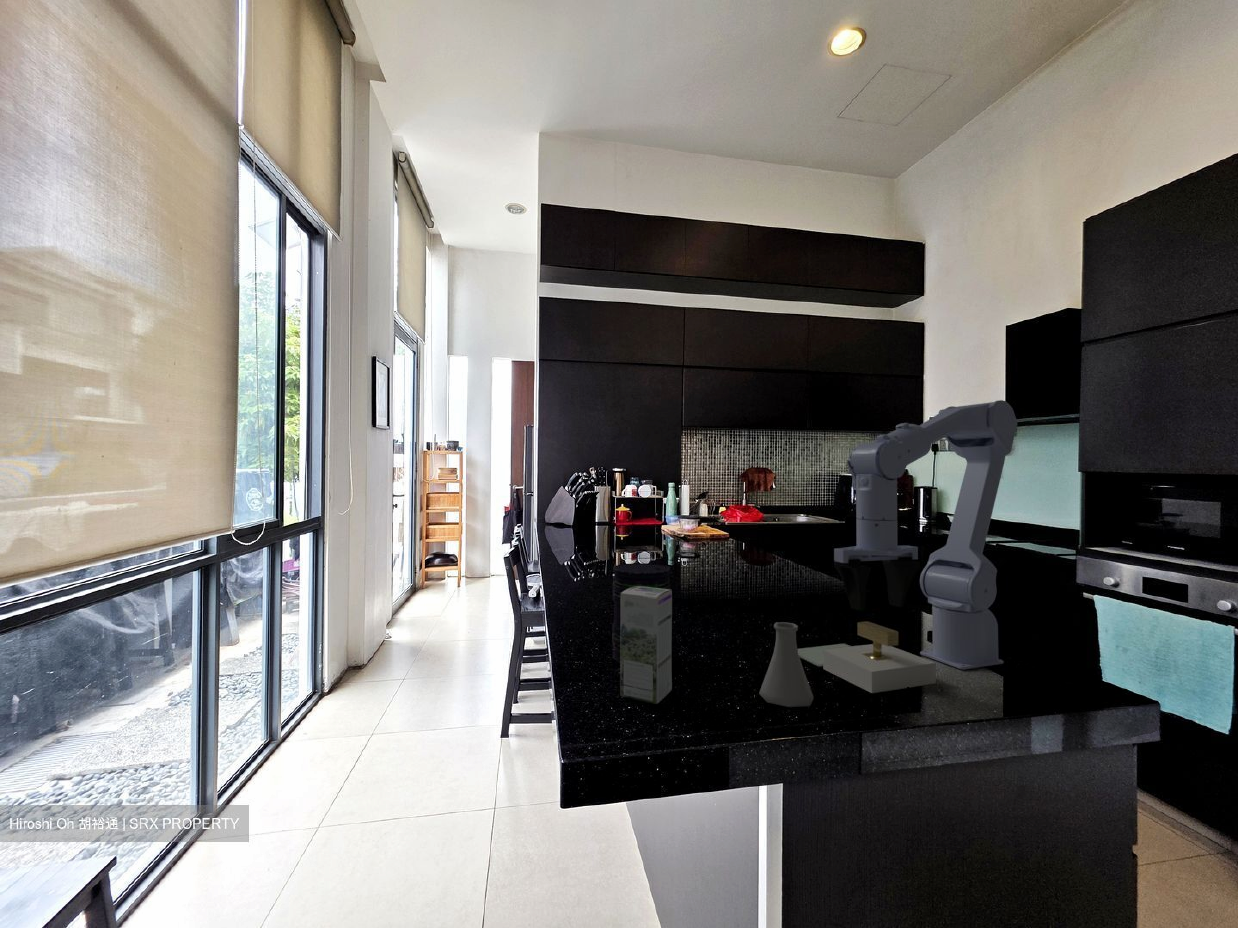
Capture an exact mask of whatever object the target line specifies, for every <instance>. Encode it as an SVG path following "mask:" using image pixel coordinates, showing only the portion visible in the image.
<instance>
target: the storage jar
mask: <svg viewBox="0 0 1238 928" xmlns="http://www.w3.org/2000/svg"><path fill="white" fill-rule="evenodd" d="M670 571H671V569H670V567H669V566H667V565H663V564H657V563H643V562H640V563H639V562H635V563H633V562H630V563H622V564H617V565H614V566H613V569H612V572H613V575H612V576H613V577H612V578H613V580H612V581H613V582H612V595H611V596H612V600H613V603H614V607H613V608H614V609H613V610H614V611H613V613H614V617H613V619H614V620H613V623H612V627H611V630H612V634H611V641H612V648H613V651H612V659H614V660H615V661H616V662H617V663H620V625H621V624H620V623H621V610H620V597H621V593H622V592H623V591H625V590H626V589H628V588H631V587H634V586H642V587H651V588H661V589H670V590H671V583H670V579H671V576H670V574H671V573H670Z"/></svg>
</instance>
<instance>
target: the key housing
mask: <svg viewBox="0 0 1238 928" xmlns="http://www.w3.org/2000/svg"><path fill="white" fill-rule="evenodd" d="M869 654H873V643H871V644H862V645H853V646H851V647H844V648H835V649H827V650H823V666H822V667H823V670H825V671H827V672H829V673H831V674H833V675H835V676H837V677H839V678H840V679H843V680H845V681H847V682H848V683H850V684H853V685H854V686H856V687H859V688H860V689H863V690H865V691H867V692H869V693H870V694H875V693H876V694H877V693H882V692H889V691H895V690H901V689H908V688H907V687H909V688H914V687H915V688H916V687H921V686H926V685H934V684H936V683H937V664H936V662H934V661H932V660H929V659H926V658H924V657H921V656H918V655H916V654H912V653H911V652H908V651H905V650H902V649H900V648H897V647H894V646H886V645H883V644H882V655H884V656H886V660H879V661H877V660H875V659H872V658H870V657H869Z"/></svg>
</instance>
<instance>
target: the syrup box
mask: <svg viewBox="0 0 1238 928" xmlns="http://www.w3.org/2000/svg"><path fill="white" fill-rule="evenodd" d="M672 592H673V590H672V589H671V588H670V589H661V588H651V587H642V586H634V587H631V588H628V589H626V590H625V591H623V592H622V593H621V597H620V610H621V623H620V624H621V625H620V662H619V664H620V666H619V667H620V673H619V674H620V676H619V677H620V679H619V680H620V681H619V682H620V685H619V689H620V691H619V695H620V697H624V698H628V699H631V700H637V701H641V702H645V703H650V704H655V705H658V704H659V703H660V702H661V701H662V700H663V699H664V698H665V697H667V696H668V694H670V693H671V691H672V689H673V682H672V681H673V679H672V633H673V632H672V629H673V628H672V627H673V626H672V624H673V621H672V620H673V619H672V618H673V593H672Z"/></svg>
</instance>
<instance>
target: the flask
mask: <svg viewBox="0 0 1238 928" xmlns="http://www.w3.org/2000/svg"><path fill="white" fill-rule="evenodd" d="M773 628H774V629H775V644H774V647H773V648H774V649H773V653H772V657H771V659H770V662H769V666H768V669H767V671H766V673H765V676H764V679H763V682H762V684H761V686H760V687H761V688H760V690H759V693H758V694H759V696H761V697H762V698H763V699H764V701H765V702H766V703H768V704H774V705H779V706H783V707H787V708H794V707H795V708H796V707H798V708H799V707H811V704H812V703H813V701H814V695H813V691H812V688H811V687H810V684H809V681H808V679H807V676H806V672H805V670H804V666H803V664H802V660H801V658H800V657H799V654H798V649H799V648H798V645H797V631H798V630H799V626H798V625H797V624H795V623H792V622H786V621H785V622H780V621H779V622H777V621H776V622H775V623H774V624H773Z"/></svg>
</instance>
